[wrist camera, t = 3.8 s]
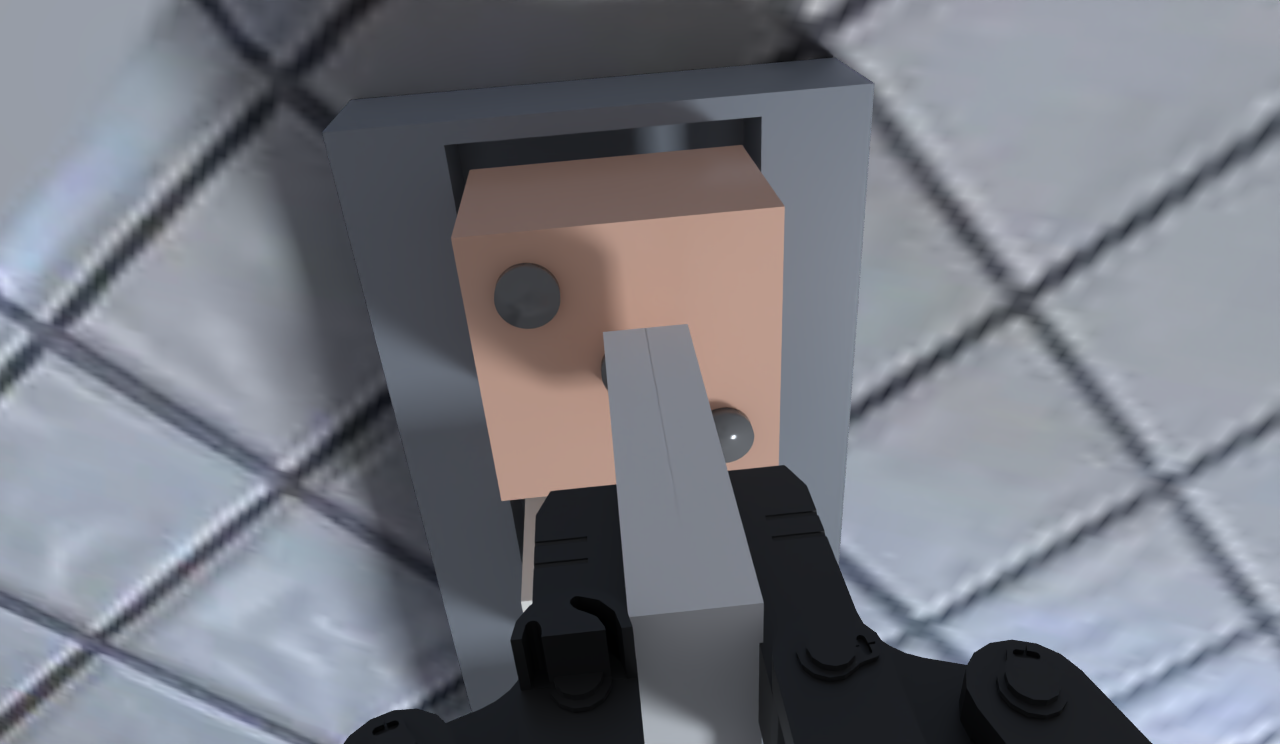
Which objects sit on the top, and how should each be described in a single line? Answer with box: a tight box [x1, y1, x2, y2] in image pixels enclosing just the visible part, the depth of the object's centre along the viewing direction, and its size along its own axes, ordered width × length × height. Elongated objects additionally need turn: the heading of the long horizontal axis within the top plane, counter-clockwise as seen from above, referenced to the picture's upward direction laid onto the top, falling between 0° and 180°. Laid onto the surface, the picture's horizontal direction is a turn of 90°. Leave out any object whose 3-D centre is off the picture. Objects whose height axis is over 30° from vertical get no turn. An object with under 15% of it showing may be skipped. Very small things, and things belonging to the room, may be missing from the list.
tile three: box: [451, 145, 785, 501], centre depth 18 cm, size 6×6×4 cm
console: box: [322, 58, 874, 744], centre depth 26 cm, size 12×26×3 cm, turn 4°
